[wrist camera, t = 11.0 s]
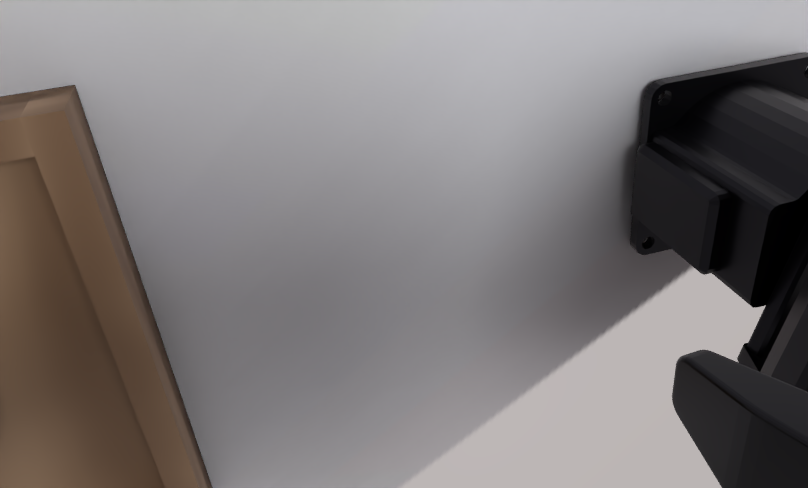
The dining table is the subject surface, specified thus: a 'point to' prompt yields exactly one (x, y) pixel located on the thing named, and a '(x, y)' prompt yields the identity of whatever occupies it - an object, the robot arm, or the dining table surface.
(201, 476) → the walnut tray
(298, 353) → the dining table surface
